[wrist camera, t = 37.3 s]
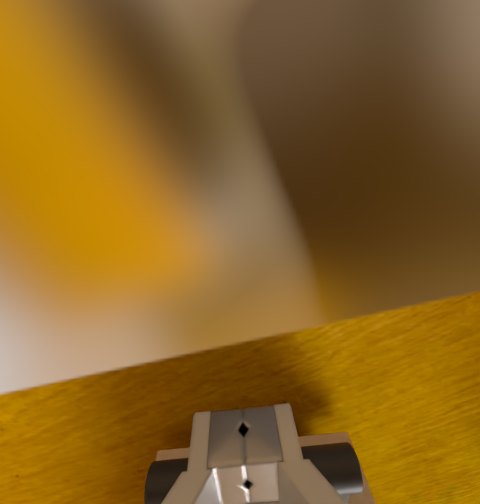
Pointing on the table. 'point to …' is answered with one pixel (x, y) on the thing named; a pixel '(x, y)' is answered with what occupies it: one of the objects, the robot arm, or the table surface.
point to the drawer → (313, 448)
